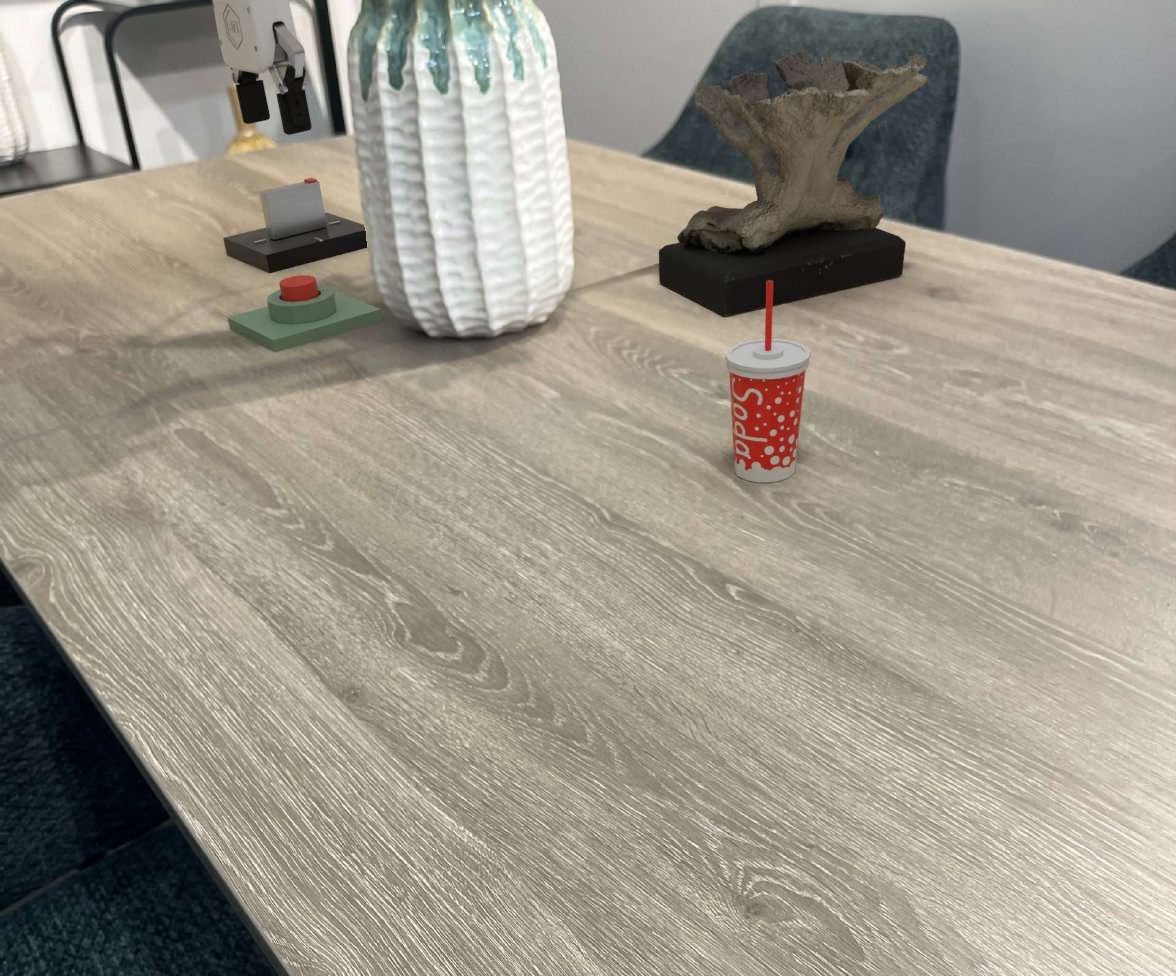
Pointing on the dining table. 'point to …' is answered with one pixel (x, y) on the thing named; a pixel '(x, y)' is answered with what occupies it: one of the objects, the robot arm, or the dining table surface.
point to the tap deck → (297, 245)
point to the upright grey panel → (293, 209)
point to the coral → (791, 188)
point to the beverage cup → (766, 402)
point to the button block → (303, 319)
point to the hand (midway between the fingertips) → (277, 126)
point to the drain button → (298, 288)
